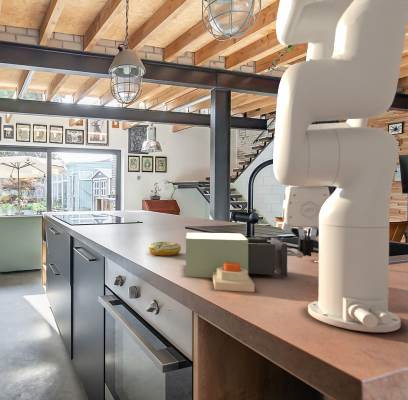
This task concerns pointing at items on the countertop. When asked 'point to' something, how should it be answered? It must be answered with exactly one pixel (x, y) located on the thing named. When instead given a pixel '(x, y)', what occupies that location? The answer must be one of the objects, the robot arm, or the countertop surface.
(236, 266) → the button
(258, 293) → the countertop surface
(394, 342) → the countertop surface
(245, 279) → the block
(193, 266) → the green drawer cabinet
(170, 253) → the decorated donut
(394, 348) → the countertop surface
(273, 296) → the countertop surface
